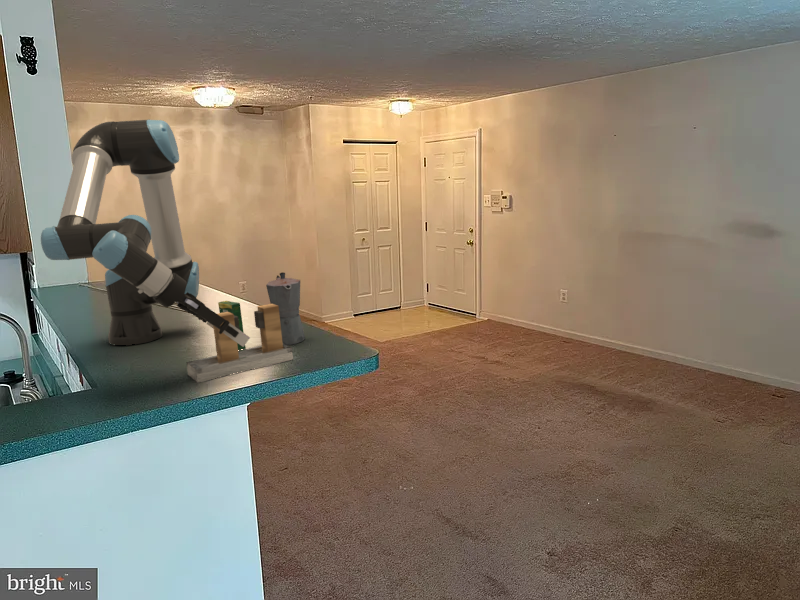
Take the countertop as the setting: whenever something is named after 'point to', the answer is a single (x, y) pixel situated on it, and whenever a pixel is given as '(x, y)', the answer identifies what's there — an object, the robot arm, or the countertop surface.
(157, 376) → the countertop surface
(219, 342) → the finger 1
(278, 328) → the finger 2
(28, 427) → the countertop surface
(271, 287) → the moka pot
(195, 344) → the countertop surface
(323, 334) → the countertop surface
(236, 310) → the coffee box
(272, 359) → the rail
